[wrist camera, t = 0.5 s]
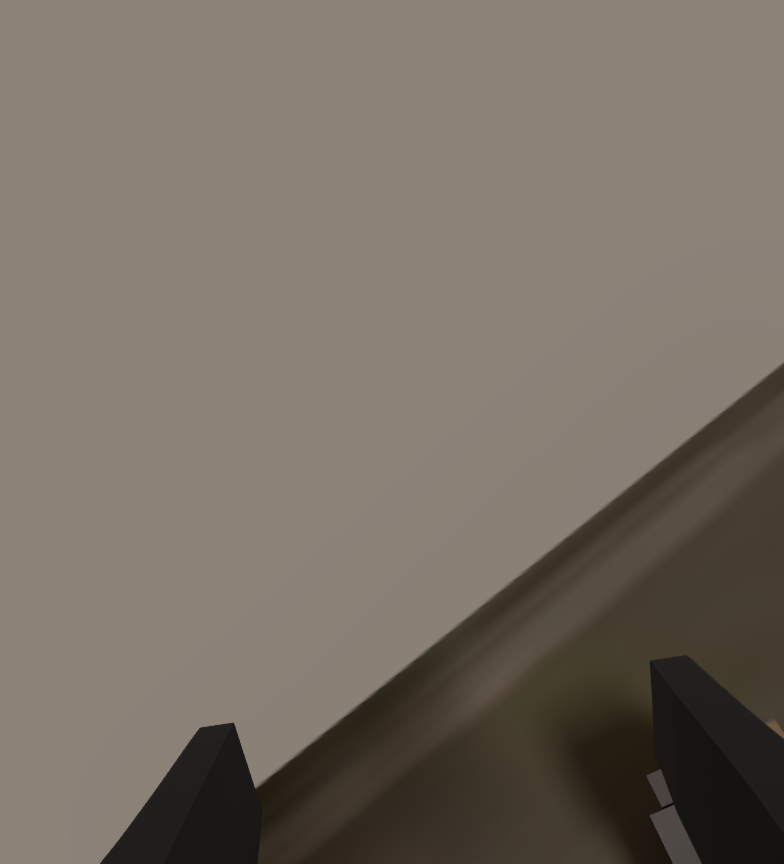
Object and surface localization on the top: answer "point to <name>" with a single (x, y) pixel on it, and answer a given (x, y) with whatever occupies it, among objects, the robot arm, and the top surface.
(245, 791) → the robot arm
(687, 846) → the carriage
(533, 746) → the top surface
